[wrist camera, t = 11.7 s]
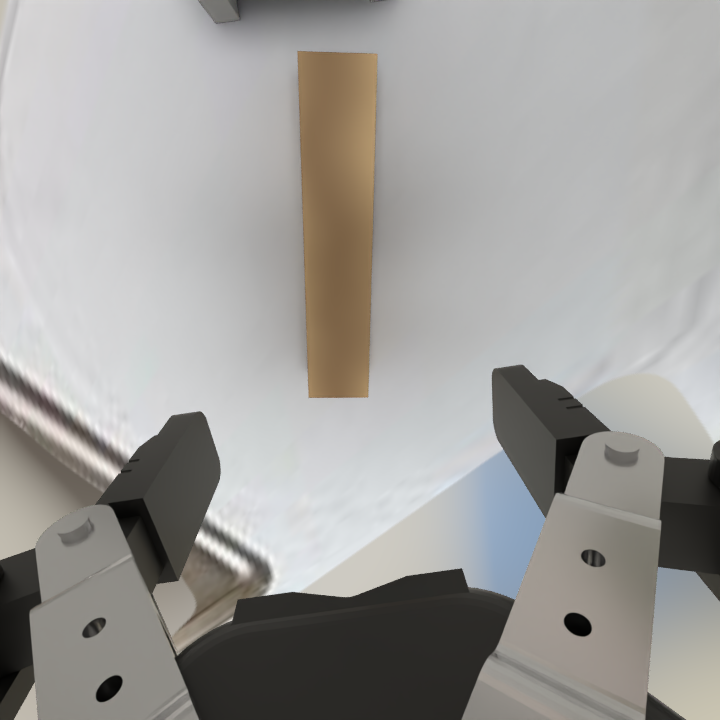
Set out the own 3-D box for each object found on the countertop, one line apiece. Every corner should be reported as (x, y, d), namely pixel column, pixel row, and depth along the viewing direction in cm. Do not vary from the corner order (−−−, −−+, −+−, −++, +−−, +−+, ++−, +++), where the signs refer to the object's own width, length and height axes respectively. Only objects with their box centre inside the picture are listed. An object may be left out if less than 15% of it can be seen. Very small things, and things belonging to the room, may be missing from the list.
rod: (371, 75, 23) (377, 53, 19) (364, 370, 29) (368, 397, 25) (304, 72, 22) (297, 51, 19) (312, 370, 29) (308, 397, 25)
